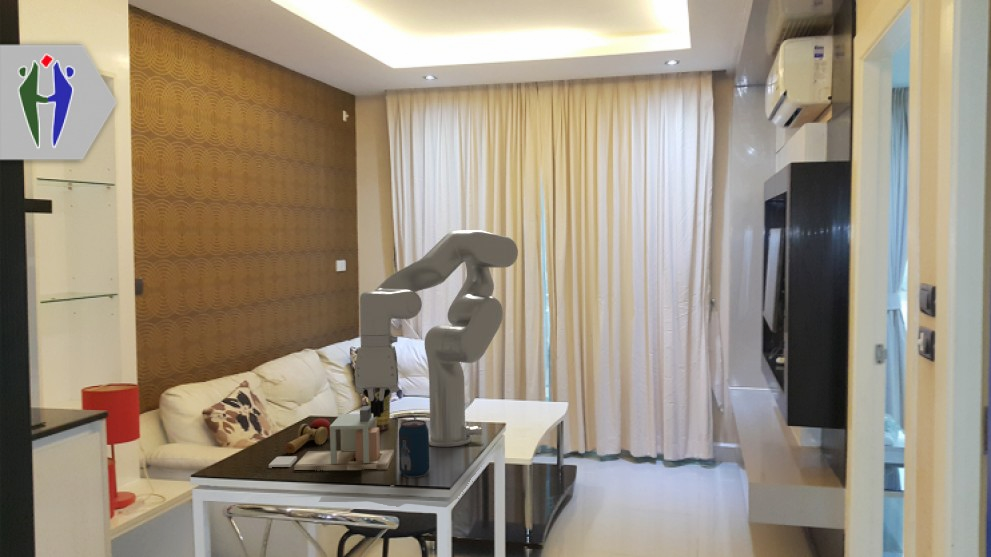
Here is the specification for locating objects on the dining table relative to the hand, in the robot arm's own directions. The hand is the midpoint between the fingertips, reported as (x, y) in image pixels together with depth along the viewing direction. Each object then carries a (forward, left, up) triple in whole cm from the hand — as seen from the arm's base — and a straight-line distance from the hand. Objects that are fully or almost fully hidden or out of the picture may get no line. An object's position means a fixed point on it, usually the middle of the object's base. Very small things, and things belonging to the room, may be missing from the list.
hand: (377, 415), depth 184 cm
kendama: (+21, -18, -12) cm, 30 cm away
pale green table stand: (+6, 0, -10) cm, 11 cm away
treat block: (+2, 0, -12) cm, 12 cm away
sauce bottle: (+5, -35, -12) cm, 37 cm away
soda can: (-10, +10, -12) cm, 19 cm away
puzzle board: (+8, 0, -11) cm, 14 cm away
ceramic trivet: (+23, 0, -11) cm, 26 cm away
